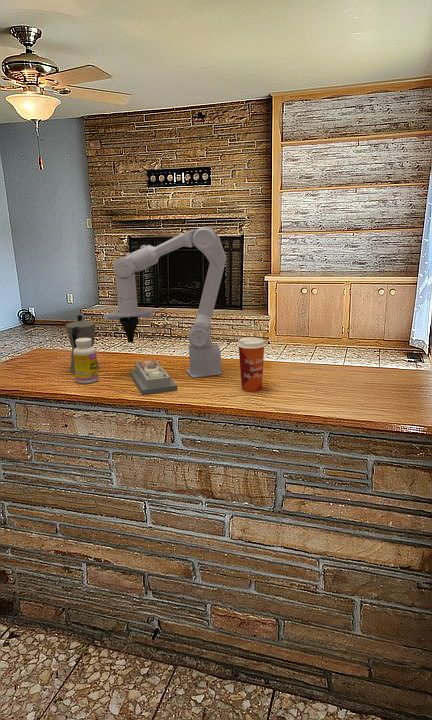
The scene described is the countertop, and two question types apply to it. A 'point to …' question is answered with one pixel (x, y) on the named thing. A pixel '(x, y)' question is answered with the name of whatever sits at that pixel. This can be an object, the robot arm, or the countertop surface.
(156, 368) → the ivory button
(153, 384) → the button board
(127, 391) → the countertop surface
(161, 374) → the sage button
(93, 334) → the coffeepot
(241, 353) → the paper cup
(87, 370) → the supplement bottle
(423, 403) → the countertop surface
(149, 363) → the terracotta button
